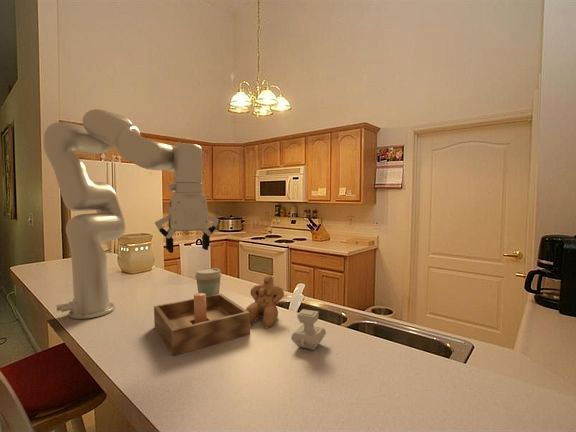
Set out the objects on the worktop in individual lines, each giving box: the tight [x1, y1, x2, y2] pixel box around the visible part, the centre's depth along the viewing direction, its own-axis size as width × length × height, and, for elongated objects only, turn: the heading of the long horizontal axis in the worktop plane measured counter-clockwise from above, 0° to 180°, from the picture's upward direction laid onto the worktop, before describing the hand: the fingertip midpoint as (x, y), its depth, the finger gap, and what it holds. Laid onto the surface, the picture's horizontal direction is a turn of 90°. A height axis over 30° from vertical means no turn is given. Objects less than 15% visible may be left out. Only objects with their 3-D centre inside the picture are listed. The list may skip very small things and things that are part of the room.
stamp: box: [290, 308, 327, 351], centre depth 79 cm, size 9×7×8 cm
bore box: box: [153, 293, 251, 357], centre depth 88 cm, size 20×20×6 cm
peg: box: [193, 293, 207, 324], centre depth 88 cm, size 3×3×10 cm
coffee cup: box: [195, 267, 222, 296], centre depth 108 cm, size 9×8×12 cm
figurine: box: [245, 274, 285, 329], centre depth 96 cm, size 11×9×15 cm
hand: (188, 250), depth 90 cm, fingers open, 9 cm apart
